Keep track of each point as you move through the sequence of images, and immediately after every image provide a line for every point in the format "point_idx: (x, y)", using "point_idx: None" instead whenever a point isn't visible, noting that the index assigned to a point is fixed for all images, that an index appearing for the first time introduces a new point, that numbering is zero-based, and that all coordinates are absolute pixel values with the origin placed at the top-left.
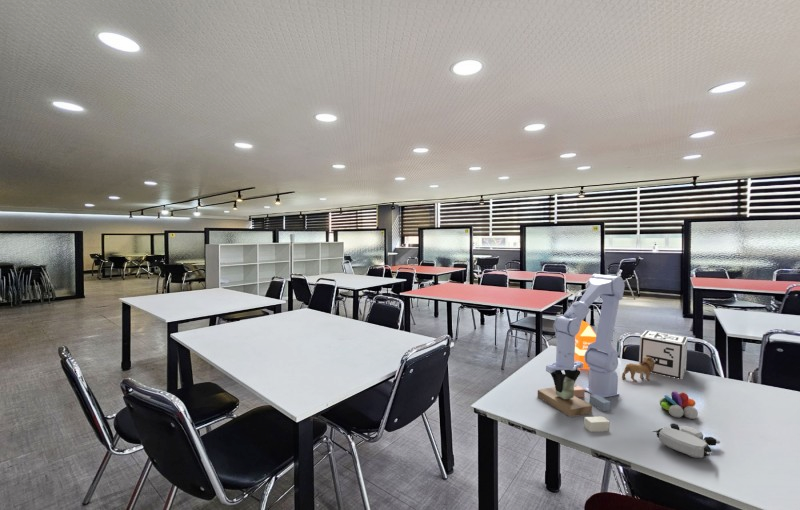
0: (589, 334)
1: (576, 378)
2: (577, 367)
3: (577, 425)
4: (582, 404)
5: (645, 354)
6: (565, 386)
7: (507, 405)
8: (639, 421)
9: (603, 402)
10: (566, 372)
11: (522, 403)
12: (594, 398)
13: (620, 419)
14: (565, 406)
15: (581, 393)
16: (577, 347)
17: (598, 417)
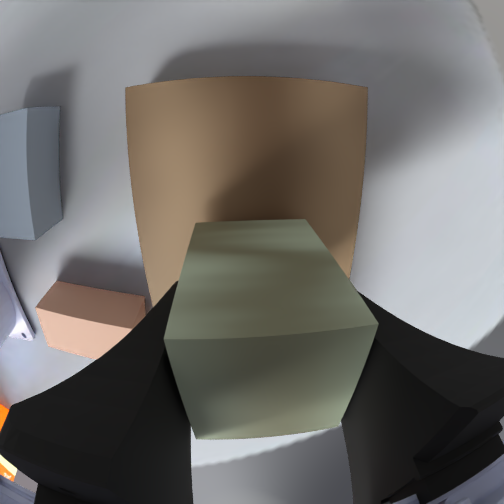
0: None
1: (97, 365)
2: (25, 495)
3: (371, 19)
4: (191, 118)
5: None
6: (341, 282)
7: (476, 296)
8: (6, 10)
9: (22, 115)
10: (184, 475)
11: (430, 301)
12: (32, 193)
13: (56, 15)
14: (364, 141)
15: (62, 297)
16: (2, 466)
17: None
